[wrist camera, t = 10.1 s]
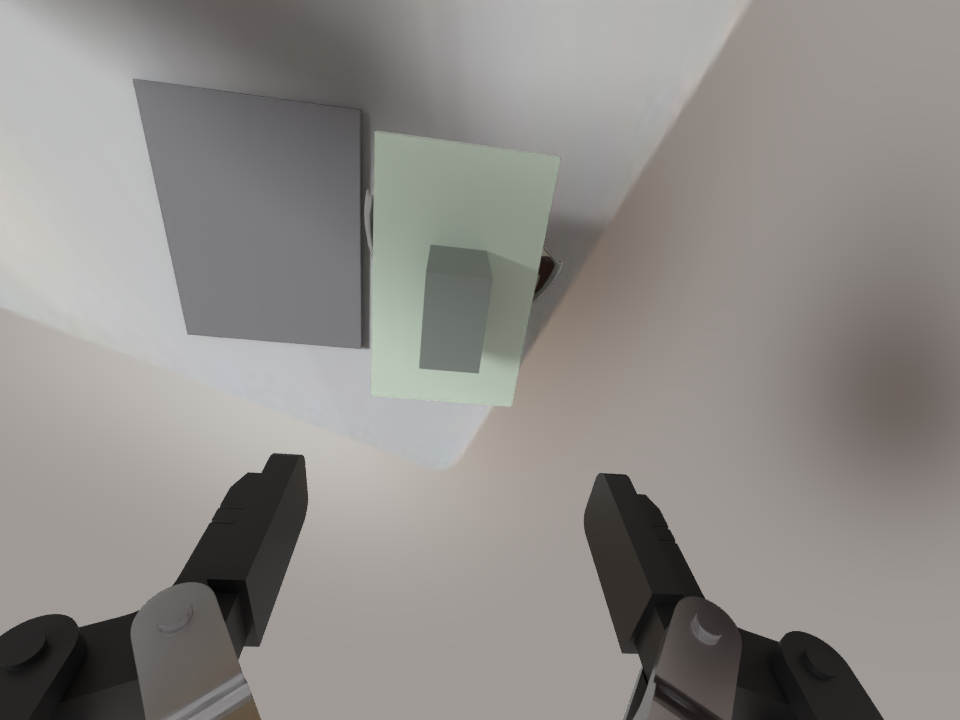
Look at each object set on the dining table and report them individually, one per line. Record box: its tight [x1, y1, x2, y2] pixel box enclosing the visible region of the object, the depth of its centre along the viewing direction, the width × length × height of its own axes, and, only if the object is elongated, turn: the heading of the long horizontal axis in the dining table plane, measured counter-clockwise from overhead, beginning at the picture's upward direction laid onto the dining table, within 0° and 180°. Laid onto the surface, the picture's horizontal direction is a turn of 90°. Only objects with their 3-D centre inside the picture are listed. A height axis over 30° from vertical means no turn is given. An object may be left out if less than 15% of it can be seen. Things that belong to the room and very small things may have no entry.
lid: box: [371, 130, 561, 407], centre depth 24 cm, size 9×15×6 cm, turn 173°
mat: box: [133, 79, 362, 349], centre depth 34 cm, size 14×18×1 cm
